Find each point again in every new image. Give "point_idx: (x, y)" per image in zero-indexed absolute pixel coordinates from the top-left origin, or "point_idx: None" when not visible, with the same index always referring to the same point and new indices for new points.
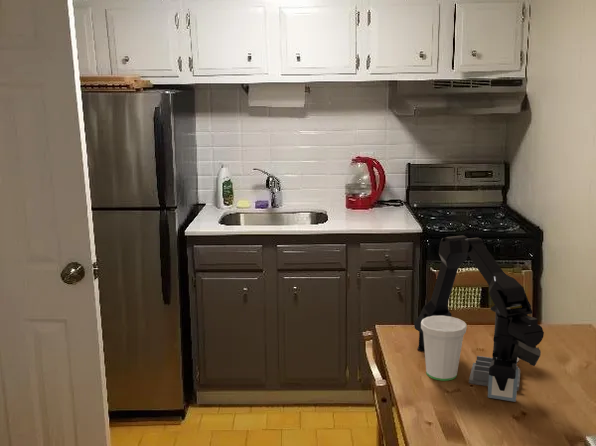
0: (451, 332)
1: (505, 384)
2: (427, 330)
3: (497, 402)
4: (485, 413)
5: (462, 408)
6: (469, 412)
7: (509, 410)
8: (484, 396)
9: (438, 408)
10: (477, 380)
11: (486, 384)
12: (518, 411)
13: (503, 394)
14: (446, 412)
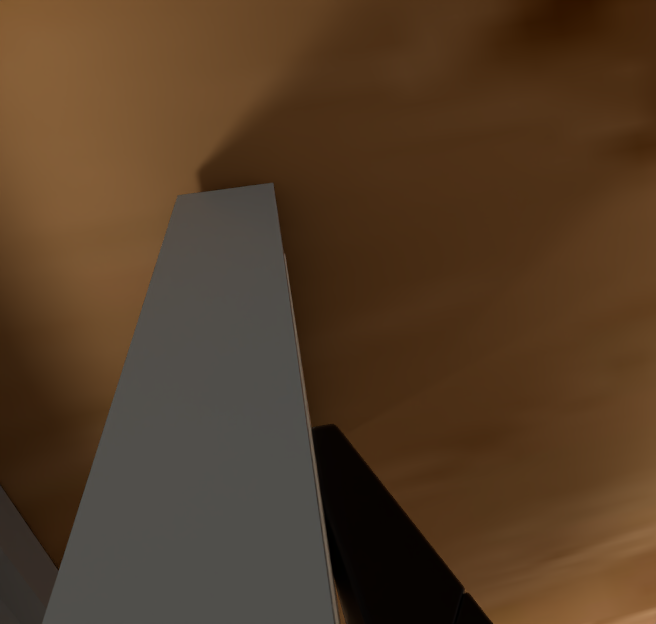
0: None
1: (406, 522)
2: None
3: (363, 362)
4: (634, 394)
5: (573, 531)
6: (631, 484)
7: (523, 211)
8: None
9: (600, 611)
10: (36, 619)
11: (22, 540)
12: (524, 95)
13: (304, 381)
14: (649, 573)
